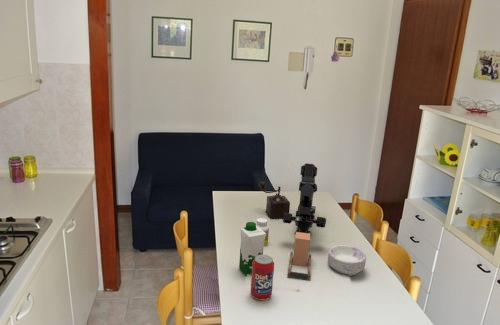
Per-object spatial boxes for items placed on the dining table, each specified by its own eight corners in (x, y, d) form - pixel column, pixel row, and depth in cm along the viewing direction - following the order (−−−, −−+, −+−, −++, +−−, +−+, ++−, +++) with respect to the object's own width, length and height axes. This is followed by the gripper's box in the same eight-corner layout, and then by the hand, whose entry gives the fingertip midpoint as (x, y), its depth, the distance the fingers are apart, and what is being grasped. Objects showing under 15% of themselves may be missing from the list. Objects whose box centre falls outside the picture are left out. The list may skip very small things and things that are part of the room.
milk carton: (254, 264, 172) (258, 220, 167) (265, 274, 165) (269, 229, 159) (235, 268, 168) (238, 223, 163) (245, 279, 161) (249, 232, 155)
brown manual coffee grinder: (282, 210, 229) (285, 180, 224) (289, 218, 219) (292, 187, 214) (255, 211, 226) (258, 180, 221) (261, 220, 215) (263, 187, 210)
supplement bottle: (266, 250, 184) (268, 224, 180) (251, 248, 185) (253, 222, 182) (268, 243, 190) (270, 218, 187) (254, 241, 191) (256, 216, 188)
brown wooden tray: (289, 258, 178) (290, 251, 177) (310, 261, 177) (311, 254, 176) (286, 280, 161) (287, 272, 160) (309, 284, 160) (310, 275, 159)
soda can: (259, 286, 156) (261, 251, 152) (275, 295, 152) (279, 258, 148) (245, 295, 151) (248, 258, 146) (262, 304, 146) (265, 266, 142)
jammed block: (293, 257, 176) (295, 231, 173) (307, 259, 176) (310, 233, 172) (292, 264, 171) (295, 238, 167) (307, 266, 170) (309, 240, 167)
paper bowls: (319, 263, 176) (321, 247, 174) (349, 258, 182) (351, 242, 180) (340, 282, 162) (343, 264, 160) (371, 276, 168) (374, 259, 166)
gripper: (285, 195, 180) (280, 229, 173) (328, 200, 178) (325, 235, 170) (285, 205, 190) (280, 238, 182) (325, 210, 187) (323, 243, 180)
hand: (302, 238), depth 178 cm, fingers closed
